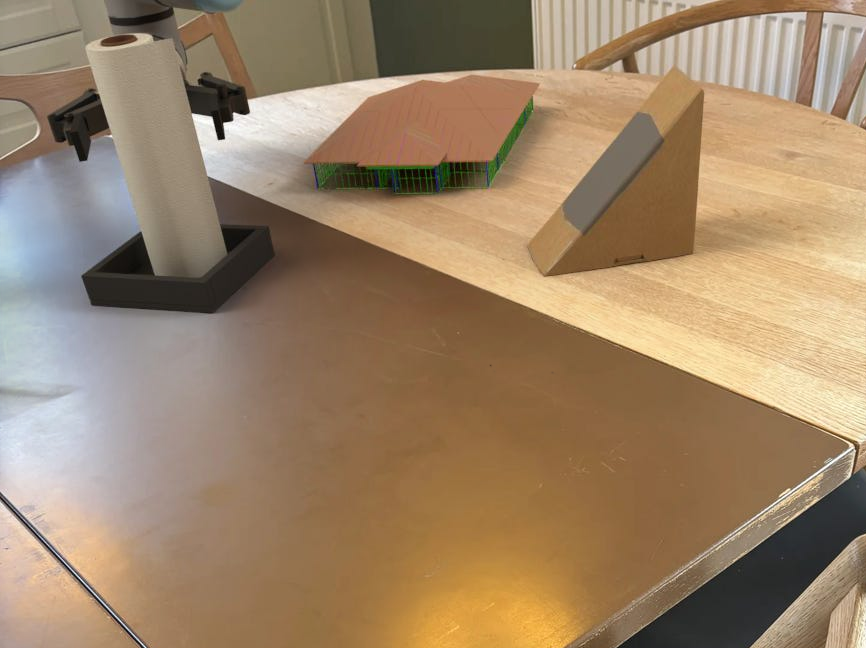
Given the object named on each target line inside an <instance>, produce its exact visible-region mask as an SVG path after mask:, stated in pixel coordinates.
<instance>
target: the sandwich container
mask: <svg viewBox="0 0 866 648" xmlns="http://www.w3.org/2000/svg"><path fill="white" fill-rule="evenodd" d="M704 103H705V91H704V89H703V88H702V87H701V86H700V85H698V83H696V82H695V81H694V80H693V79H692V78H690V76H689V75H687V73H685V72H684V71H683V70H682V69H680V68H679V67H678V66H677V65H675V64H674V65H673V66H672V67H671V68H670V69H669V70H668V71H667V73H666V74H665V75H664V77H662V79H661V80H660V82H659V83H658V84H657V85H656V87H655V88H654V89H653V90H652V92H651V94H650V95H649V96H648V97H647V98H646V99H645V101H644V102H643V103H642V105H641V106H640V107H639V109H638V110H637V111H636V112H635V113H634V115H633V116H632V117H631V119H629V121H628V122H627V123H626V125H625V126H624V128H622V130H621V131H619V133H618V135H617V136H616V138H615V139H613V141H612V142H611V143H610V145H609V146H607V148H606V149H605V150H604V152H603V153H602V154H601V155H600V156H599V157H598V159H597V160H596V161H595V163H593V165H592V166H591V168H590V169H589V170H588V171H587V172H586V173H585V175H584V176H583V177H582V178H581V180H580V181H579V182H578V183H577V184H576V186H575V187H574V188H573V189H572V191H571V192H570V193H569V194H568V196H567V197H566V198H565V200H564V201H562V203H561V204H560V205H559V206H558V208H557V209H556V210H555V211H554V213H553V214H552V215H551V216H550V217H549V218H548V220H546V222H545V223H544V224H543V225H542V226H541V228H539V230H538V231H537V232H536V234H535V235H534V236H533V237H532V239H531V240H530V241H529V242H528V243H527V244H526V246H527V248H528V251H529V253H530V255H531V259H532V260H533V262H534V263H535V265H536V266H537V268H538V269H539V270H540V272H541V274H542V275H543V276H544V277H547V276H548V277H549V276H555V275H562V274H569V273H576V272H584V271H592V270H599V269H605V268H613V267H617V266H622V265H630V264H636V263H642V262H651V261H656V260H662V259H663V260H664V259H669V258H674V257H680V256H685V255H691V254H694V252H695V251H694V250H695V239H696V237H695V236H696V225H697V224H696V223H697V222H696V221H697V208H698V194H699V179H700V166H701V165H700V164H701V149H702V136H703V135H702V132H703V119H704Z"/></svg>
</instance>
